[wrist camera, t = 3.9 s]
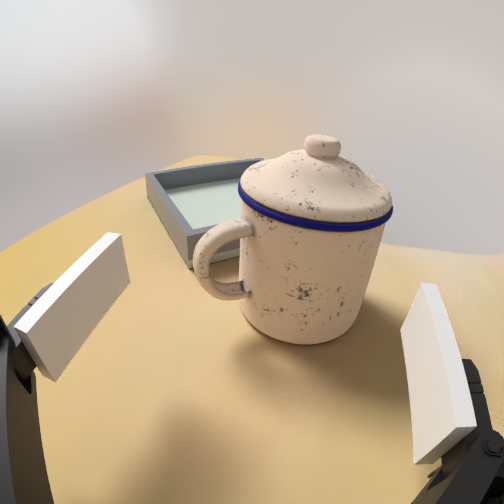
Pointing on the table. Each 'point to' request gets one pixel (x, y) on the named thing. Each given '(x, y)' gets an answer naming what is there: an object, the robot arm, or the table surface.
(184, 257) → the tray
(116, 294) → the robot arm
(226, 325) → the table surface
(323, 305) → the teacup with lid
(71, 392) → the table surface
